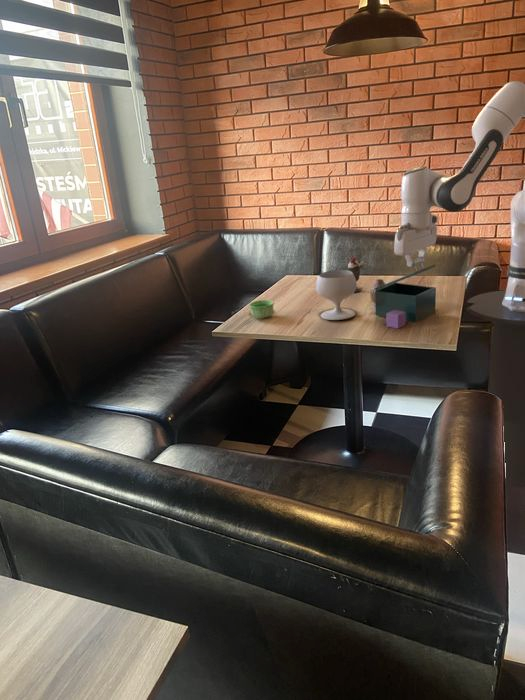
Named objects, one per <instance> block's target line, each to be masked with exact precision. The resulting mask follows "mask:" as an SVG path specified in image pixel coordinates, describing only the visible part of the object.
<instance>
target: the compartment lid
mask: <svg viewBox="0 0 525 700" xmlns="http://www.w3.org/2000/svg"><path fill="white" fill-rule="evenodd" d="M413 260H414V265H413V266H412V268H413V271H414V272H412V273H410V274H407V275H404V276H401V277H399V278H397V279H395V280H392V281H390V282H387V283H385V285H382V286H380V287H377V288H375V290H379V289H381V288H384V287H386V286H389V285H391V284H394V283H400V282H401V281H405V280H406V279H408V278H411V277H413V276H416V275H418V274H421V273H423V272H426V271H428V270H431V269H433V268H436V265H435V263H433V264H432V265H430V266H426V267H425V266H424V264H423V262H424V261H423V260H422V258H421V257H419V258H417V257H416V258H414V259H413ZM422 261H423V262H422ZM417 265H419V267H420V269H419V270H418V268H417Z"/></svg>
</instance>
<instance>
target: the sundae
mask: <svg viewBox="0 0 525 700" xmlns="http://www.w3.org/2000/svg"><path fill="white" fill-rule="evenodd" d="M353 256H354V254H352V255H351V260H350V261H349V263H348V264H347V265H346V266H345V268H346V270H347V271H351V272H352V273H353V274H354V276H355V279H356V283H357V282H358V281H359V280H360V277H361V268H363V265H362V264H361V261H360V260H358V259H356V258H355V257H353ZM361 290H362V289H361V288H358V287H357V288H356V290H355V292H354V293H358V292H361Z"/></svg>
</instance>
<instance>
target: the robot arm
mask: <svg viewBox="0 0 525 700" xmlns="http://www.w3.org/2000/svg"><path fill="white" fill-rule="evenodd" d="M522 118H523V119H525V82H522V81H518V80H512V81H508V82H507V83H506V84H504V85H503V86H502V87H500V89H499V90H498V91H497V92H496V93H495V94H494V95H493V96H492V97H491V99H489V101H488V102H487V103H486V104H485V105H484V107H483V108H482V110H481V111H480V112H479V114H478V115H477V117H476V118H475V120H474V122H473V124H472V126H471V136H472V139H473V141H474V142H475V146H474V148H473V151H472V152H471V153H470V155H469V157H468V158H467V160H466V161H465V163H464V164H463V166H462V167H461V169H460V170H459V171H458V172H457V173H456V174H453V175H452V176H451V175H444V174H441V173H438V172H436V171H434V170H432V169H430V168H428V167H427V166H426V165H425V166H417V167H413V168H410V169H408V170H406V171H404V173H403V175H402V179H401V187H400V200H401V202H402V203H401V205H402V206H401V211H400V220H401V223H400V225H399V227H398V228H397V230H396V232H395V236H394V245H393V246H394V247H393V253H394V254H395V256H400V257H404V258H405V261H406V266H407V267H413V265H414V259H413V254H414V253H415V252H418V256H417V257H416V258H419V257H421V258H422V260H423V261H422V263H423V262H425V256H426V254H427V248H429V247H431V246H435V245H436V242H437V240H438V239H437V236H438V227H437V226H438V225H437V223H438V222H439V221H438V220H439V218H438V216H437V215H435V214H432V213H431V209H432V207H437V208H439V209H443V210H445V211H447V212H451V213H457V212H461V211H463V210H465V209H466V208H467V207H468V206H469V205H470V204H471V202H472V200H473V198H474V195H475V192H476V189H477V186H478V184H479V183H480V181H481V179H483V176H484V175H485V173H486V172H487V171H488V169H489V167H490V166H491V164H492V163H493V161H494V160H495V158H496V157H497V156H498V153H499V151H500V150H501V148H502V146H503V144H504V143H505V141H506V140H507V138H508V137H509V136H510V134H511V133H512V132H513V130H514V129H515V128H516V127H517V125H518V124H519V122H520V121H521V120H522ZM510 237H511V239H510V240H511V241H510V245H511V246H510V257H509V258H510V259H509V264H508V265H507V266H508V267H507V273H506V274H507V284H506V289H505V290H506V293H505V296H504V299H503V302H502V305H503V306H505V307H507V308H509V309H510V310H511V311H517V312H525V180H524V181H523V188H522V190H520V191H518V192H517V193H516V194H514V196H513V197H512V199H511V201H510Z"/></svg>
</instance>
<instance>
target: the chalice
mask: <svg viewBox="0 0 525 700" xmlns="http://www.w3.org/2000/svg"><path fill="white" fill-rule="evenodd" d="M356 288H358V285H357V282H356V279H355V276H354V274H353V273H352V272H351V271H348V270H347V269H346V270H344V269H336V270H335V269H334V270H328V271H324V272H320V273H319V274H318V276H317V279H316V283H315V290H316V292H317V294H318V295H319V296H320V297H322V298H324V299H326V300H328V301H330V302H332V303H333V305H334V309H330V310H326V311H324V312H322V313H321V314H320V318H322V319H323V320H330V321H340V320H347V319H350V318H353V317H354V316H356V312H355V310H352V309H348V308H347V309H346V308H341V303H342V302H343V301H344V300H345V299H347V298H348V297H350V296H352V295H353V294H354V293H356V292H355V290H356Z"/></svg>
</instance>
